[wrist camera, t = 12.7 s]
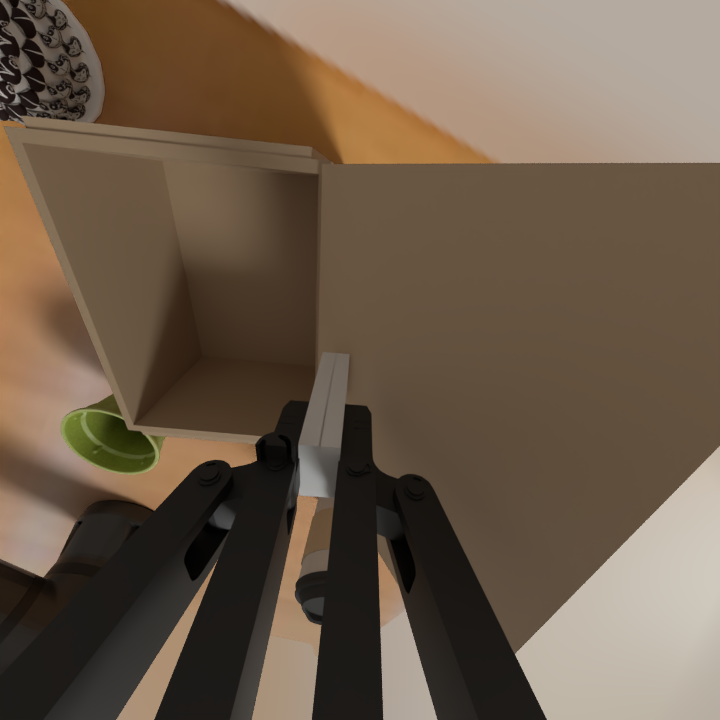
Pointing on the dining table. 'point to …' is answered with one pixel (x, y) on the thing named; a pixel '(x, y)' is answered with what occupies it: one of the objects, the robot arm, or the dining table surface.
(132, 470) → the plant pot
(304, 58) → the dining table surface
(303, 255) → the carton
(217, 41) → the dining table surface
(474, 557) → the flap
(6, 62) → the decorative candle
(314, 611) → the coffee cup
